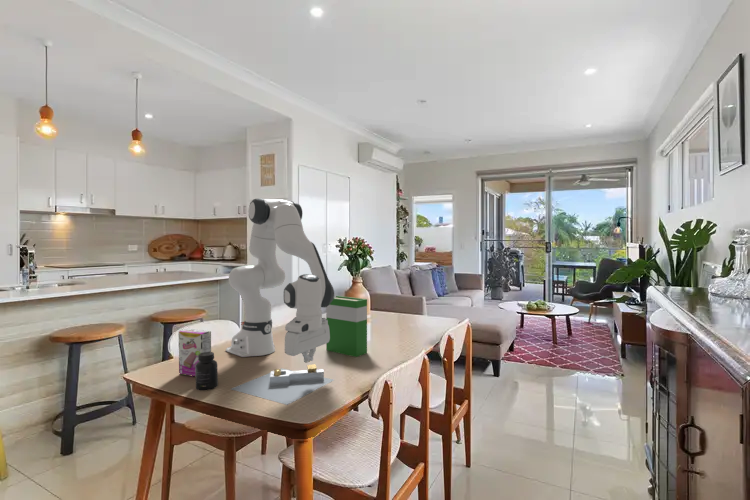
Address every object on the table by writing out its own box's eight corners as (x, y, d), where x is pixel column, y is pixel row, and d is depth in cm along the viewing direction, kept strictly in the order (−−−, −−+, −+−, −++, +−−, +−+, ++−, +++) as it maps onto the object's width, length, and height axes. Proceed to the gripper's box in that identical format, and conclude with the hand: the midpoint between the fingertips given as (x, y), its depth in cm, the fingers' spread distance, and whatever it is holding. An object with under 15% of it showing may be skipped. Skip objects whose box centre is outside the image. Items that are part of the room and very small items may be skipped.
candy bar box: (178, 375, 144) (177, 331, 143) (188, 370, 148) (188, 328, 148) (202, 378, 140) (201, 333, 139) (212, 374, 145) (211, 330, 144)
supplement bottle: (200, 385, 133) (199, 350, 133) (220, 385, 134) (220, 350, 133) (192, 393, 126) (191, 356, 126) (213, 392, 127) (213, 356, 127)
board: (230, 391, 128) (230, 388, 128) (281, 370, 149) (281, 368, 149) (287, 407, 116) (287, 404, 116) (334, 382, 136) (334, 379, 136)
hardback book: (326, 350, 176) (326, 297, 176) (337, 346, 182) (337, 295, 182) (356, 357, 166) (356, 301, 165) (367, 353, 172) (367, 299, 171)
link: (322, 375, 141) (322, 367, 141) (324, 381, 134) (324, 373, 134) (271, 379, 137) (270, 370, 137) (269, 385, 131) (269, 377, 131)
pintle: (272, 383, 133) (272, 370, 133) (277, 381, 135) (277, 368, 135) (277, 384, 132) (277, 371, 132) (282, 382, 134) (282, 369, 134)
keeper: (308, 380, 136) (308, 368, 136) (307, 376, 140) (307, 364, 140) (316, 379, 136) (316, 368, 136) (315, 375, 141) (315, 364, 141)
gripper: (320, 315, 144) (320, 352, 145) (281, 326, 126) (281, 368, 127) (334, 317, 141) (333, 355, 141) (296, 329, 123) (295, 372, 124)
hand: (308, 361), depth 134 cm, fingers closed
